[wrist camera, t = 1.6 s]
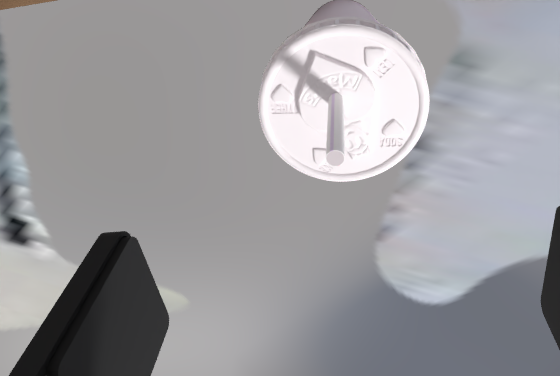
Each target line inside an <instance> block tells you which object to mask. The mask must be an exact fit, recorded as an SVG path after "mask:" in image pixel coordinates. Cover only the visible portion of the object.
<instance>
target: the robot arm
mask: <svg viewBox="0 0 560 376" xmlns="http://www.w3.org/2000/svg"><path fill="white" fill-rule="evenodd" d="M541 307H542V311H543V314H544V317H545V319H546V321H547V323H548V325H549V328H550V330H551V332H552V334H553V336H554V339H555V340H556V343H557V345H558V347H559V350H560V206H559V207H558V208H557V209H556V213H555V219H554V225H553V231H552V237H551V242H550V248H549V254H548V260H547V266H546V271H545V278H544V283H543V290H542V295H541ZM168 326H169V315H168V312H167V310H166V307H165V305H164V302H163V300H162V298H161V295H160V293H159V290H158V288H157V286H156V283H155V281H154V279H153V276H152V274H151V271H150V269H149V267H148V264H147V262H146V259H145V257H144V255H143V252H142V250H141V247H140V245H139V243H138V240H137V239H136V238H135V237H131V236H130V234H129V233H127V232H125V231H122V232H108V233H102V234H101V235H100V236H99V237H98V239H97V240H96V242H95V243H94V245H93V246H92V248H91V249H90V251H89V253H88V254H87V256H86V257H85V259H84V260H83V262H82V263H81V265H80V266H79V268H78V269H77V271H76V272H75V274H74V275H73V277H72V279H71V280H70V282H69V283H68V285H67V286H66V288H65V289H64V291H63V293H62V294H61V296H60V297H59V299H58V300H57V302H56V303H55V305H54V306H53V308H52V310H51V311H50V313H49V314H48V316H47V317H46V319H45V320H44V322H43V323H42V325H41V327H40V328H39V330H38V331H37V333H36V334H35V336H34V337H33V339H32V341H31V342H30V344H29V345H28V347H27V348H26V350H25V351H24V353H23V354H22V356H21V358H20V359H19V361H18V362H17V364H16V365H15V367H14V368H13V370H12V372H11V373H10V375H9V376H151V373H152V370H153V368H154V365H155V362H156V360H157V357H158V354H159V351H160V348H161V346H162V343H163V341H164V338H165V335H166V332H167V330H168Z"/></svg>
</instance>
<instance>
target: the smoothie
mask: <svg viewBox="0 0 560 376" xmlns="http://www.w3.org/2000/svg"><path fill="white" fill-rule="evenodd" d="M258 111H259V118H260V123H261V126H262V129H263V132H264V134H265V136H266V138H267V140H268V142H269V143H270V145H271V147H272V148H273V149H274V150H275V152H276V153H277V154H278V155H279V156H280V157H281V158H282V159H283V160H284V161H285V162H286V163H288V164H289V165H290V166H292V167H294V168H295V169H297V170H299V171H300V172H302V173H304V174H307V175H309V176H312V177H315V178H318V179H323V180H328V181H355V180H361V179H365V178H368V177H372V176H374V175H377V174H380V173H382V172H384V171H386V170H387V169H389V168H391V167H392V166H394V165H395V164H397V163H398V162H399V161H400V160H402V159H403V158H404V157H405V156H406V155H407V154H408V153H409V152H410V151H411V149H412V148H413V147H414V146H415V144H416V143H417V141H418V140H419V138H420V136H421V134H422V132H423V130H424V127H425V125H426V121H427V117H428V112H429V90H428V85H427V81H426V75H425V70H424V67H423V65H422V63H421V61H420V60H419V58H418V56H417V54H416V52H415V50H414V49H413V48H412V47H411V46H410V45H409V44H408V43H407V42H406V41H405V40H404V38H403V37H402V36H401V35H400V34H399V33H397V32H395V31H393V30H391V29H390V28H388V27H386V26H384V25H382V24H381V23H379V22H378V21H377V20H376V19H375V18H374V17H373V16H372V14H371V13H370V12H369V11H368V10H367V9H366V8H365V7H364V6H363V5H361V4H360V3H358V2H355V1H353V0H333V1H331V2H328V3H326V4H324V5H323V6H321V7H320V8H319V9H318V10H317V11H316V12H315V13H314V15H313V16H312V17H311V19H310V20H309V21H308V22H307V24H306V25H305V26H304V27H303V28H301V29H300V30H298V31H297V32H295V33H294V34H292V35H291V36H289V37H288V38H287V39H286V40H285V41H284V42H283V43H282V44H281V45H280V46H279V48H278V49H277V50H276V51H275V52H274V53H273V54H272V57H271V59H270V60H269V63H268V65H267V67H266V69H265V71H264V73H263V77H262V82H261V87H260V92H259V100H258Z"/></svg>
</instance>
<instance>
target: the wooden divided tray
mask: <svg viewBox="0 0 560 376" xmlns="http://www.w3.org/2000/svg"><path fill="white" fill-rule="evenodd" d="M49 1H56V0H0V10H3V9H9V8H15V7H20V6H26V5H32V4H38V3H43V2H49Z"/></svg>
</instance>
